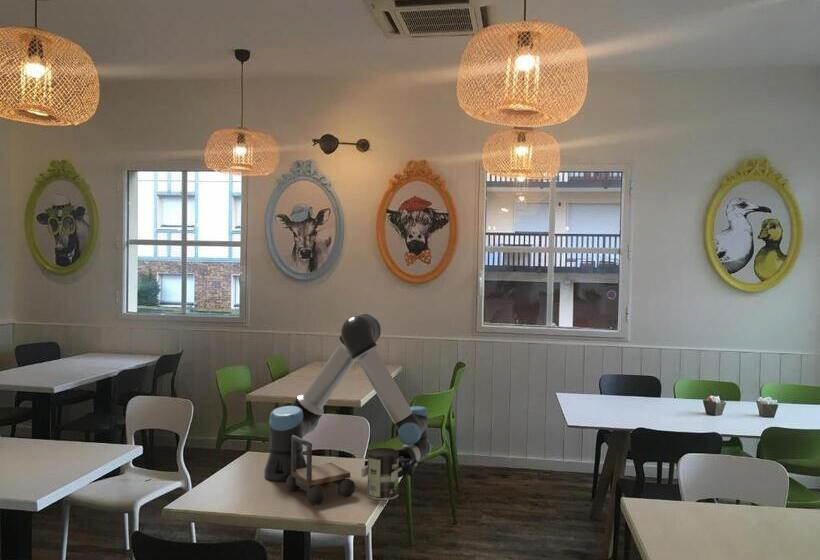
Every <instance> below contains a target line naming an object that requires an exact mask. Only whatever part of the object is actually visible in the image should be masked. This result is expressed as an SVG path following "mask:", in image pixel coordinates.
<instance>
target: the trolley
mask: <svg viewBox="0 0 820 560" xmlns="http://www.w3.org/2000/svg"><path fill="white" fill-rule="evenodd" d="M296 441H297V442H299V443H301V444H303V446H305V447H306V464H307V467H306V468H301V469H296ZM312 460H313V443H312V442H310V441H308V440H305V439H304V438H303V439H301V438H299V437H297V436H295V435H292V436H291V474H290V475H289V476H288V478H287V480H286V481H285V485H286V488H288V489H289V490H290V491H292V492H297V491H300V489H302V490H304V491H305V492H306V499H307V501H308V502H309V503H311V504H312V505H316V504H317V505H319V504H322V502H323V501H324V499H325V497H326V491H325V488H324V487H322V486H321V485H323V486H326V485H328V484H330V483H333V484H334V485H337V492H338V494H339V496H342V497H344V498H346V497H347V498H349V497H351V496H352V495H353V494H354V492H355V490H356V483H355V482H354V480H352V479H350V478H351V471H349V470H346V469H345V468H342V467H341V466H338V465H336V464H335V463H332V462H327V463H323V464H318V465H313V463H312V462H313V461H312ZM325 484H326V485H325Z"/></svg>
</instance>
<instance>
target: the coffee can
mask: <svg viewBox="0 0 820 560" xmlns="http://www.w3.org/2000/svg"><path fill="white" fill-rule="evenodd" d="M366 456H367V461H368V475H367V497H368V498H369V499H371V500H375V501H389V500H394V499H396V498H398V497H399V495H400V494H399V478H398V479H397V480H395V481H394V482H391V473H392V472H394V471H395V470H397V469H398V468H399V451H398V450H397V449H395V448H391V447H389V448H388V447H378V448H377V447H376V448H372V449H370V450H367V455H366Z"/></svg>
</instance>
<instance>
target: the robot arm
mask: <svg viewBox="0 0 820 560" xmlns="http://www.w3.org/2000/svg"><path fill="white" fill-rule="evenodd" d="M341 326H342V327H341V329H340V335H339V337H338V341H339V344H338V345H337V346H336V348H335V350H334V351H333V353H332V354H331V355H330V357H329V359H327V361H326V362H325V364H324V365H323V367H322V368H321V370H320V371H319V372H318V374H317V376H316V377H315V378H314V380H313V381H312V382H311V384H310V385H309V387H308V388H307V389H306V391H305V392H304V393H302V394H298V395H297V397H296V398H295V400H293V402H292V404H290V405H284V406H281V407H280V406H279V407H277V408H274V409H273V410H272V411H271V412H270V414H269V421H268V424H269V454H268V457H267V460H266V464H265V467H264V475H263V476H264V477H265V479H267V480H270V481H275V482H286V480H287V478H288V476H289V475H290V474H291V436H292V435H295V436H297V437H299V438H301V439H303V440H304V437H305V436H306V435H308V434H310V433H311V432H312V431H314V430H315V428H316V427H317V426H318V423H319V421H320V419H321V417H322V416H323V415H324V412H325V411H324V406H325V405H326V403H328V401H329V399H330V398H331V396H332V395H333V393H334V392H335V391H336V389H337V388H338V386H339V385H340V384H341V383H342V381H343V380H344V378H345V377H346V375H347V374H348V373H349V371H350V369H351V368H352V366H353V365H354V364H355V363H356V362H358V364H359V366H360V368H361V369H362V371H363V373H364V374H365V376H366V377H367V379H368V381H369V383H370V384H371V386H372V389H373V390H374V392H375V393H376V395H377V396H378V398H379V400H380V402H381V403H382V406H383V407H384V409H385V411H386V412H387V413H388V415H389V418H391V421H392V422H393V424H394V426H395V428H396V430H397V437H398V440H399V441H400V442H401V443H402V444H403V446H401V447H399V448H397V449H396V450H398V451H399V468H398V469H397V470H395V471H394V472H392V473H391V482H394V481H395V480H397V479H398V480H399V479H400V478H402V477H405V476H407V475H408V476H409V477H412V476H413V474H414V472H415V470H416V469H417V468H418V463H419V462H421V461H422V460H424V459H425V458H427V457H428V455H430V454H431V450H432V444H431V442H430V440H429V439H428V418H429V416H428V408H426V406H418V405H415V406H410V405H409V404H408V403H409V402H407V400H406V399H405V397H404V395H403V393H402V390H400V387H398V385H397V383H396V381H395V379H394V378H393V376H392V374H391V373H390V371H389V369H388V367H387V366H386V364H385V362H384V360H383V359H382V357H381V355H380V354H379V352H378V345H377V341H378V340H379V339H380V337H381V333H382V327H381V324H380V322H379V320H378V318H376V317H375V316H373V315H372V314H368V313H360V314H358V315H353V316H351V317H349V318H347V319H346V320H345V321H344V322H343V325H341ZM303 446H304V445H303V444H301V443H299V442H297V441H296V469H301V468H306V467H307V460H306V458H305V455H304V452H303V451H304V450H303V449H304V448H303ZM360 472H361V474H360V476H361V478H365V477H366V476H368V460H365V461H364V466H363V467H362V468H361V471H360Z"/></svg>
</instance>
